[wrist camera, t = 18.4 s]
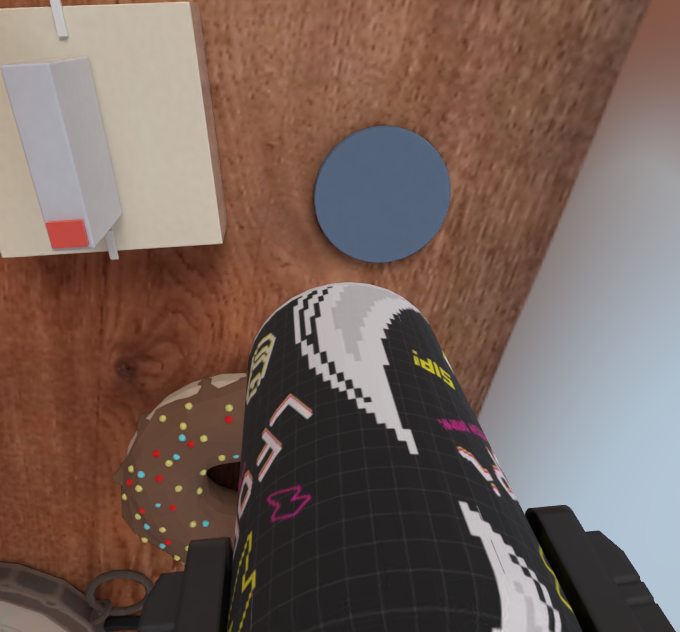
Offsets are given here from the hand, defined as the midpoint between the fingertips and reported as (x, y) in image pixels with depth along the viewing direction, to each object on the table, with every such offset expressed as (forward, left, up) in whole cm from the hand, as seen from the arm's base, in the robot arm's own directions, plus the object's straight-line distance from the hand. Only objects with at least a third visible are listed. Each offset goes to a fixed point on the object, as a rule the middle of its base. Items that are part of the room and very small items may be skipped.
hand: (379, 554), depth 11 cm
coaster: (-1, +3, -21) cm, 21 cm away
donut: (+15, -6, -21) cm, 27 cm away
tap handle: (-5, -10, -18) cm, 21 cm away
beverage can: (0, 0, -8) cm, 8 cm away
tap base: (-5, -10, -21) cm, 24 cm away
